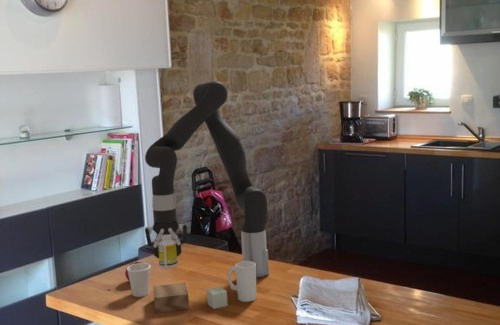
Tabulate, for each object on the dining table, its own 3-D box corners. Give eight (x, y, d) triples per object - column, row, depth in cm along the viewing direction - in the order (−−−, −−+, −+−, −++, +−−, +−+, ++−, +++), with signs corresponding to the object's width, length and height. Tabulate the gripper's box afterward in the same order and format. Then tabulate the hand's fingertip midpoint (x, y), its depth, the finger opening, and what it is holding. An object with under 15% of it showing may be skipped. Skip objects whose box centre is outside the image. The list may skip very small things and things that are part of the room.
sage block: (221, 300, 191) (220, 286, 190) (227, 305, 186) (226, 291, 186) (207, 304, 189) (206, 289, 188) (213, 309, 184) (212, 294, 184)
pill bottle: (179, 262, 191) (177, 230, 189) (175, 268, 184) (173, 235, 183) (161, 262, 191) (159, 230, 190) (157, 268, 185) (154, 236, 184)
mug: (259, 295, 194) (258, 261, 192) (253, 303, 187) (251, 268, 186) (232, 293, 197) (230, 260, 195) (225, 300, 191) (223, 266, 189)
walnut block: (186, 296, 196) (185, 282, 195) (189, 308, 185) (188, 294, 185) (154, 300, 194) (153, 286, 193) (155, 312, 183) (154, 298, 183)
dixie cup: (136, 288, 206) (134, 262, 204) (156, 290, 203) (154, 263, 201) (124, 297, 198) (121, 269, 197) (145, 299, 195) (143, 271, 194)
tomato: (129, 287, 207) (127, 266, 206) (123, 280, 215) (121, 260, 214) (152, 282, 211) (151, 262, 210) (145, 276, 219) (144, 256, 218)
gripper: (185, 202, 190) (188, 251, 192) (142, 206, 187) (145, 255, 190) (187, 207, 183) (190, 257, 185) (142, 211, 180) (145, 262, 182)
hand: (167, 256), depth 187 cm, fingers closed on pill bottle, 6 cm apart
